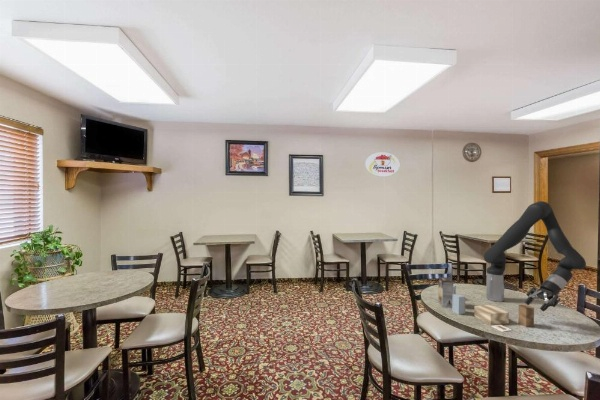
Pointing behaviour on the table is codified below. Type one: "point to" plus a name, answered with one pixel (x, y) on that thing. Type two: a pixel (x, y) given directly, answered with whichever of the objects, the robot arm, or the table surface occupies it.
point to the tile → (501, 328)
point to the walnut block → (526, 315)
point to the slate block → (458, 304)
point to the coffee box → (445, 292)
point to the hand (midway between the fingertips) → (533, 306)
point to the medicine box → (454, 289)
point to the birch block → (491, 314)
